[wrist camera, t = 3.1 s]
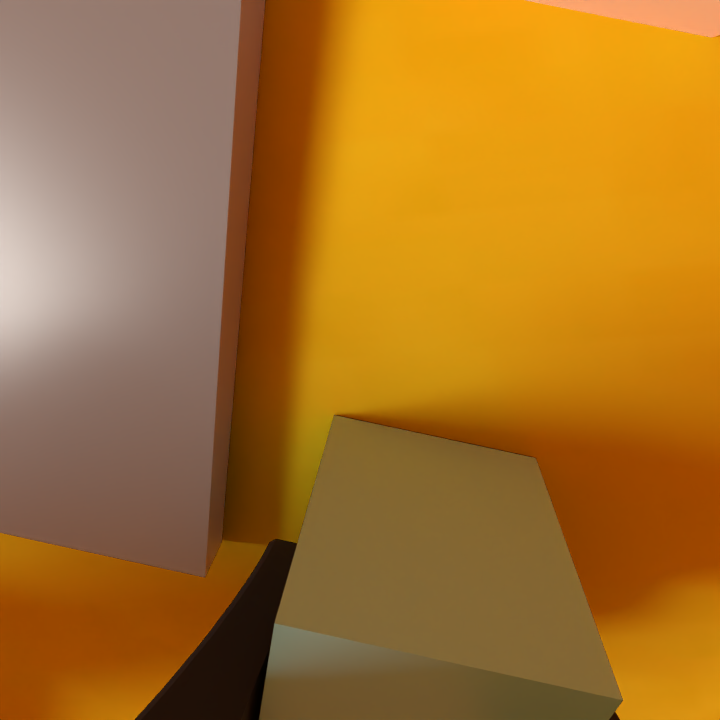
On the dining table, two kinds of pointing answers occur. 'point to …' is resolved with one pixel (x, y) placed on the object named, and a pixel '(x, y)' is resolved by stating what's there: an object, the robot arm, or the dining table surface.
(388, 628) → the teal brick
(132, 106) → the baseplate
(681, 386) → the dining table surface
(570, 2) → the cream brick
